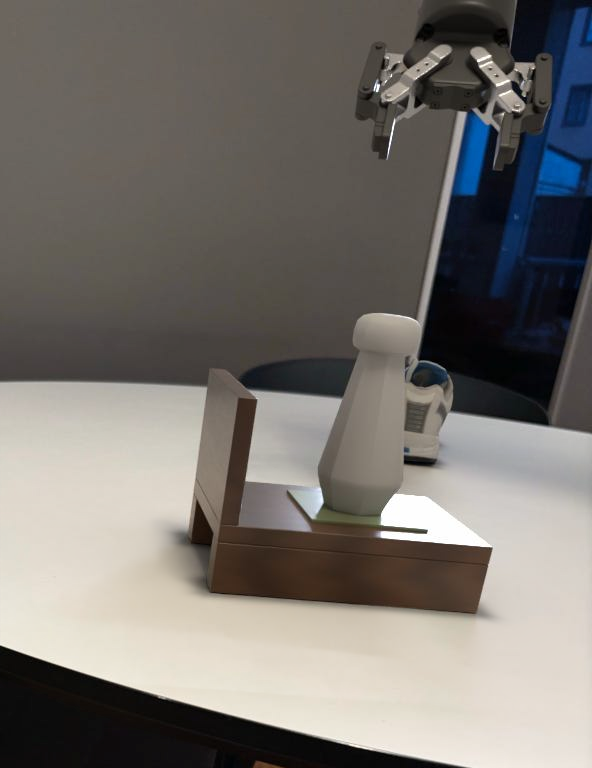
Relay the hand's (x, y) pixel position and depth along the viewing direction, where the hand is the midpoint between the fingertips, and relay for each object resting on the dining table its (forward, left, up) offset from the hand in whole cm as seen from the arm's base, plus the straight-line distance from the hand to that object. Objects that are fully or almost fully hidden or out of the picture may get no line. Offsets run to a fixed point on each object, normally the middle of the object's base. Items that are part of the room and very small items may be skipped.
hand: (441, 155), depth 76 cm
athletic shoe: (-15, -38, -29) cm, 50 cm away
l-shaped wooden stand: (+8, +15, -29) cm, 33 cm away
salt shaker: (+6, +15, -24) cm, 29 cm away
